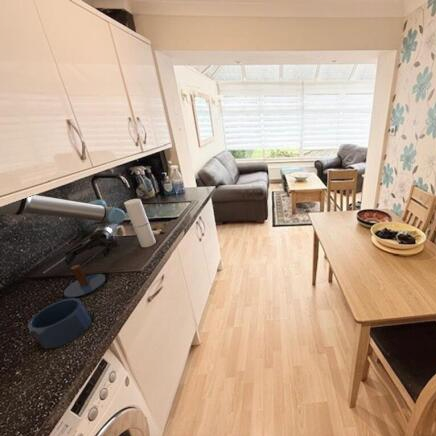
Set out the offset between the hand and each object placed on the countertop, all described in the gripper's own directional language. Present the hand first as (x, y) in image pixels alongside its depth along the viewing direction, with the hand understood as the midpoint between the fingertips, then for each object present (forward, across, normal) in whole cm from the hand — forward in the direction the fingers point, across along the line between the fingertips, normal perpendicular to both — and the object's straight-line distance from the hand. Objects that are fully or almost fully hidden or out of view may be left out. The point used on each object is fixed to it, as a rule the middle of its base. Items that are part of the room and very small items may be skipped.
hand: (86, 258), depth 103 cm
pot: (+34, -2, -9) cm, 35 cm away
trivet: (+10, 0, -9) cm, 13 cm away
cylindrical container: (-18, -19, -9) cm, 28 cm away
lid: (+10, 0, -8) cm, 12 cm away
